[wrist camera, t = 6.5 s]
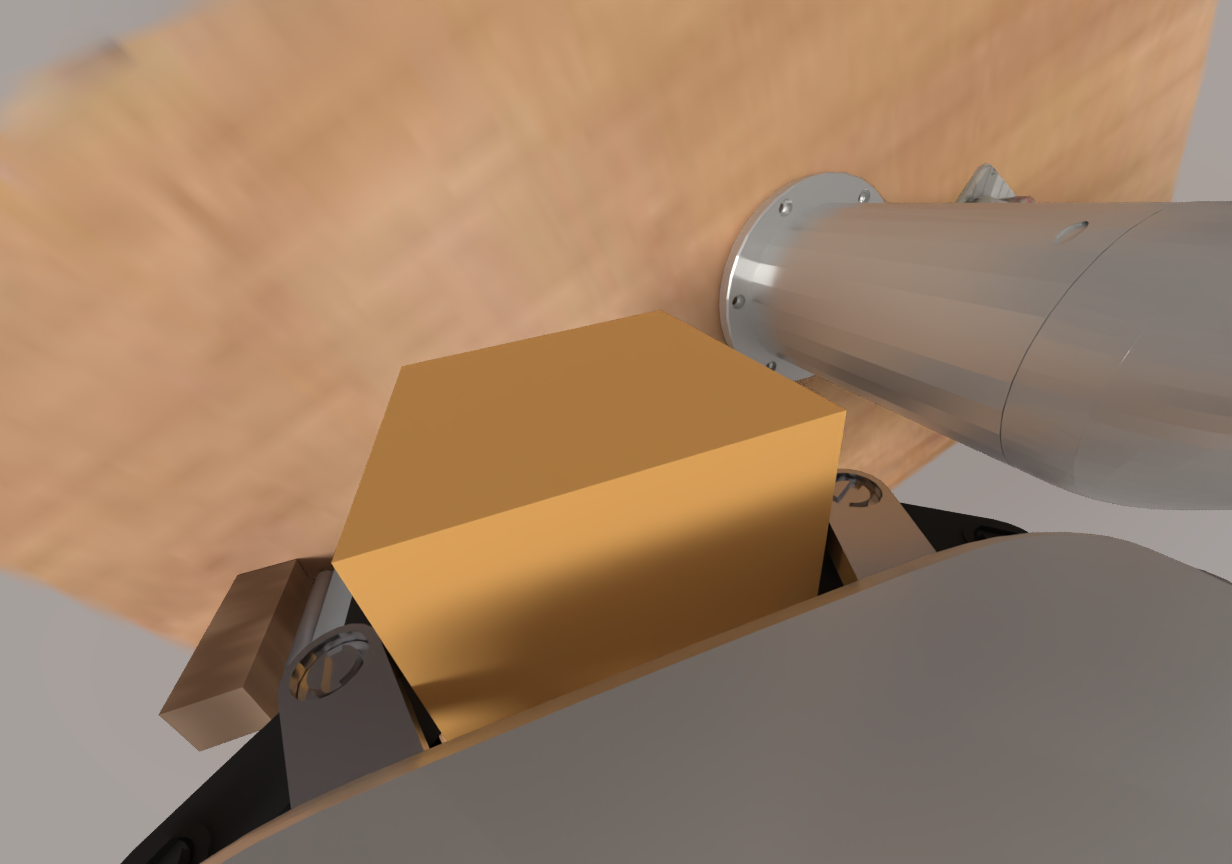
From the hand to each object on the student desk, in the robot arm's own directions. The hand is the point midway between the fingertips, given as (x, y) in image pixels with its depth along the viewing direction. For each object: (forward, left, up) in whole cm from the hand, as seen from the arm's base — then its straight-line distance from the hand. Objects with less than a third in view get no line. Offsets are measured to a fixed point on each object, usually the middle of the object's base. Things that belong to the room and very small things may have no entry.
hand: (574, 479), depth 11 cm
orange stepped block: (0, +2, -1) cm, 2 cm away
